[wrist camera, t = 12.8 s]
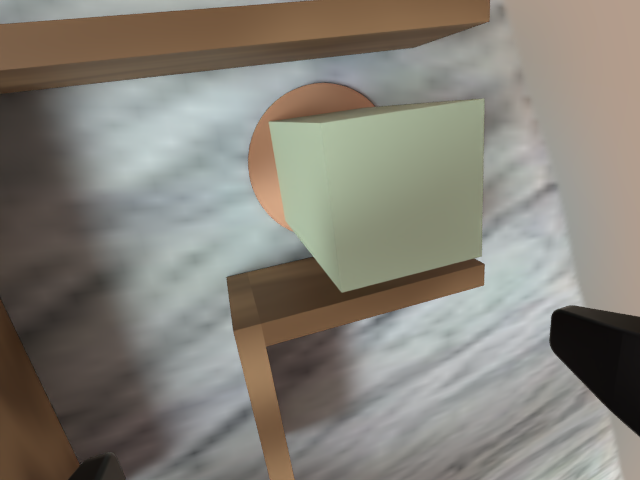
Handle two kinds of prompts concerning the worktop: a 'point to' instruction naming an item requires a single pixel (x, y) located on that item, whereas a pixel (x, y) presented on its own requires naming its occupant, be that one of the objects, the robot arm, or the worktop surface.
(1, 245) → the worktop surface
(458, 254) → the block
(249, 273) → the channel
